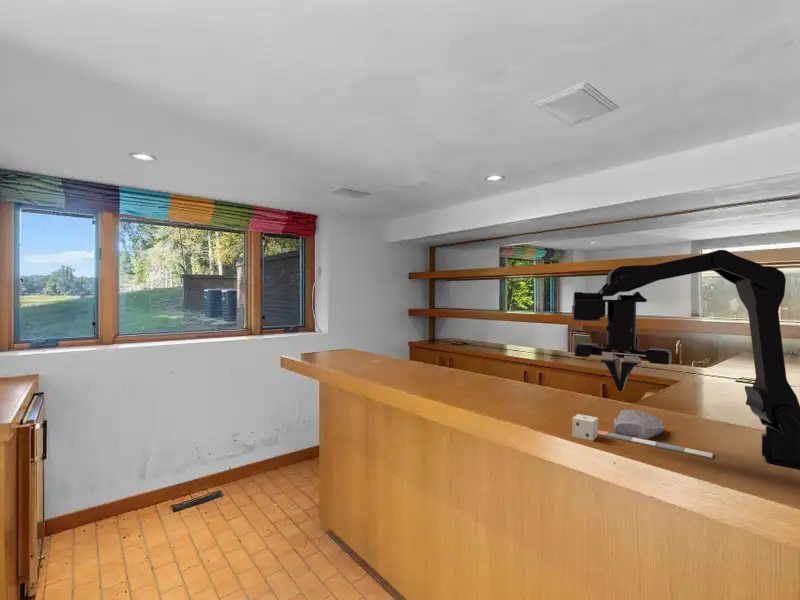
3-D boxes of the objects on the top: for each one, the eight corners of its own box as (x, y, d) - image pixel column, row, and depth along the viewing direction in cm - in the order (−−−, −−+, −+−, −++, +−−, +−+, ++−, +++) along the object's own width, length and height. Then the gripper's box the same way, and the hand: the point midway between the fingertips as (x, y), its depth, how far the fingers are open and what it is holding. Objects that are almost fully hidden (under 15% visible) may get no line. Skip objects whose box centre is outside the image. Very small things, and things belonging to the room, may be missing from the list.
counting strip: (713, 454, 84) (713, 453, 84) (712, 458, 82) (712, 457, 82) (587, 429, 101) (587, 427, 101) (583, 431, 98) (583, 430, 98)
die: (597, 436, 96) (597, 417, 96) (592, 441, 92) (592, 421, 92) (577, 432, 98) (577, 413, 98) (571, 436, 95) (572, 417, 95)
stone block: (662, 436, 101) (619, 421, 107) (667, 419, 101) (623, 404, 107) (656, 452, 92) (609, 434, 98) (662, 433, 91) (614, 416, 97)
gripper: (675, 322, 91) (674, 391, 91) (587, 319, 103) (586, 380, 103) (668, 324, 82) (668, 400, 82) (574, 320, 94) (573, 386, 94)
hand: (620, 390), depth 90 cm, fingers closed
